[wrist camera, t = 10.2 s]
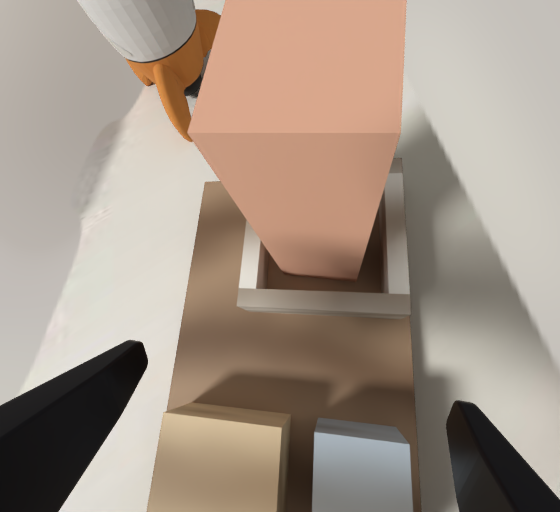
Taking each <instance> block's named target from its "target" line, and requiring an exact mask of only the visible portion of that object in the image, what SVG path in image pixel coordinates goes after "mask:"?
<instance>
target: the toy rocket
mask: <svg viewBox="0 0 560 512" xmlns="http://www.w3.org/2000/svg"><path fill="white" fill-rule="evenodd" d="M77 1H78V3H79V4H80V5H81V7H82V8H83V9H84V11H85V12H86V13H87V15H88V16H89V17H90V19H91V20H92V21H93V22H94V23H95V25H96V26H97V27H98V28H99V31H100V32H101V33H102V34H103V35H104V37H105V38H106V39H107V40H108V41H109V42H110V43H111V44H112V46H113V47H114V48H115V49H116V50H117V51H118V52H120V53H121V55H122V56H124V58H126V60H127V62H128V64H129V65H130V67H131V68H132V70H133V71H134V73H135V74H136V75H137V76H138V78H139V79H140V80H141V81H142V82H143V83H144V84H145V85H146V86H149V85H151V84H152V82H153V83H155V84H156V85H157V89H158V92H159V96H160V98H161V101H162V104H163V106H164V108H165V111H166V113H167V115H168V117H169V118H170V120H171V122H172V123H173V125H174V127H175V128H176V129H177V130H178V131H179V133H180V134H181V135H182V136H183V137H184V138H185V139H186V140H188V141H189V142H192V141H193V140H192V139H191V138H190V136H189V135H188V133H187V132H188V128H189V125H190V122H191V115H190V111H189V107H188V103H187V99H186V97H185V96H188V95H191V94H193V93H194V92H195V91H197V90H198V88H199V87H200V85H201V82H202V78H201V75H200V73H201V70H202V68H203V58H204V57H206V55H207V52H208V51H209V50H210V49H212V46H213V42H214V39H215V35H216V32H217V28H218V25H219V21H220V18H221V15H219V14H217V13H215V12H213V11H209V10H195V5H194V1H193V0H77Z"/></svg>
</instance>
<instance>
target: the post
mask: <svg viewBox="0 0 560 512" xmlns="http://www.w3.org/2000/svg"><path fill="white" fill-rule="evenodd" d="M406 2H407V1H406V0H226V1H225V4H224V8H223V11H222V15H221V18H220V21H219V25H218V28H217V32H216V35H215V39H214V42H213V46H212V49H211V52H210V56H209V59H208V63H207V66H206V70H205V73H204V77H203V80H202V84H201V87H200V90H199V94H198V97H197V101H196V104H195V108H194V111H193V115H192V118H191V122H190V125H189V128H188V132H187V133H188V135H189V136H190V138H191V139H192V140H193V142H194V143H195V145H196V146H197V148H198V149H199V151H200V152H201V154H202V155H203V157H204V158H205V159H206V161H207V162H208V164H209V165H210V167H211V168H212V170H213V171H214V173H215V174H216V176H217V177H218V178H219V180H220V181H221V183H222V184H223V186H224V187H225V189H226V190H227V192H228V193H229V195H230V196H231V198H232V199H233V200H234V202H235V203H236V205H237V206H238V208H239V209H240V211H241V212H242V214H243V215H244V217H245V218H246V219H247V221H248V222H249V224H250V225H251V227H252V228H253V230H254V231H255V233H256V234H257V236H258V237H259V238H260V240H261V241H262V243H263V244H264V246H265V247H266V249H267V250H268V252H269V253H270V255H271V256H272V257H273V259H274V260H275V262H276V263H277V265H278V266H279V268H280V269H281V271H282V272H283V274H286V275H295V276H304V277H313V278H322V279H332V280H341V281H350V282H356V281H357V277H358V274H359V271H360V267H361V264H362V261H363V257H364V254H365V251H366V247H367V244H368V241H369V237H370V234H371V231H372V227H373V224H374V221H375V217H376V214H377V210H378V207H379V204H380V200H381V197H382V194H383V190H384V187H385V184H386V180H387V177H388V174H389V170H390V167H391V164H392V160H393V157H394V154H395V150H396V147H397V144H398V140H399V137H400V134H401V115H402V92H403V69H404V47H405V24H406V23H405V22H406Z"/></svg>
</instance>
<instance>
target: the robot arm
mask: <svg viewBox="0 0 560 512" xmlns="http://www.w3.org/2000/svg"><path fill="white" fill-rule="evenodd" d="M147 365H148V358H147V355H146V352H145V348H144V345H143V343H142V342H140V341H135V340H128V341H125V342H124V343H122V344H120V345H118V346H116V347H114V348H112V349H110V350H108V351H106V352H104V353H102V354H100V355H98V356H96V357H94V358H92V359H90V360H88V361H86V362H84V363H83V364H81V365H79V366H77V367H75V368H73V369H71V370H69V371H67V372H65V373H63V374H61V375H59V376H57V377H55V378H53V379H51V380H49V381H47V382H45V383H43V384H42V385H40V386H38V387H36V388H34V389H32V390H30V391H28V392H26V393H24V394H22V395H20V396H18V397H16V398H14V399H12V400H10V401H8V402H6V403H4V404H2V405H1V406H0V512H59V510H60V508H61V507H62V505H63V504H64V502H65V501H66V499H67V498H68V496H69V495H70V493H71V492H72V490H73V489H74V487H75V485H76V484H77V482H78V481H79V479H80V478H81V476H82V475H83V473H84V472H85V470H86V469H87V467H88V466H89V464H90V462H91V461H92V459H93V458H94V456H95V455H96V453H97V452H98V450H99V449H100V447H101V446H102V444H103V442H104V441H105V439H106V438H107V436H108V435H109V433H110V432H111V430H112V429H113V427H114V426H115V424H116V423H117V421H118V419H119V418H120V416H121V414H122V413H123V411H124V409H125V407H126V406H127V404H128V402H129V400H130V398H131V396H132V394H133V393H134V391H135V389H136V387H137V385H138V383H139V381H140V379H141V378H142V376H143V374H144V372H145V370H146V368H147ZM446 429H447V437H448V444H449V451H450V458H451V465H452V472H453V479H454V486H455V492H456V498H457V503H458V507H459V512H560V499H559V498H558V497H557V496H556V495H555V494H554V493H553V491H552V490H551V489H550V488H549V487H548V486H547V485H546V484H545V482H544V481H543V480H542V479H541V478H540V477H539V476H538V474H537V473H536V472H535V471H534V470H533V469H532V468H531V467H530V465H529V464H528V463H527V462H526V461H525V460H524V459H523V457H522V456H521V455H520V454H519V453H518V452H517V451H516V450H515V448H514V447H513V446H512V445H511V444H510V443H509V442H508V441H507V439H506V438H505V437H504V436H503V435H502V434H501V433H500V431H499V430H498V429H497V428H496V427H495V426H494V425H493V424H492V422H491V421H490V420H489V419H488V418H487V417H486V416H485V414H484V413H483V412H482V411H481V410H480V409H479V408H478V407H477V406H476V405H475V404H473V403H471V402H465V401H460V400H456V401H455V402H454V403H453V406H452V408H451V411H450V414H449V416H448V419H447V423H446Z"/></svg>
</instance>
